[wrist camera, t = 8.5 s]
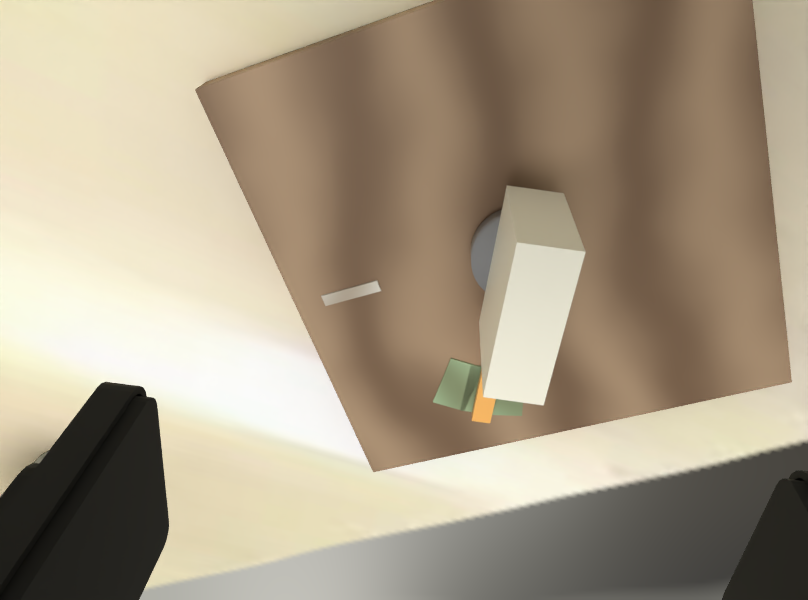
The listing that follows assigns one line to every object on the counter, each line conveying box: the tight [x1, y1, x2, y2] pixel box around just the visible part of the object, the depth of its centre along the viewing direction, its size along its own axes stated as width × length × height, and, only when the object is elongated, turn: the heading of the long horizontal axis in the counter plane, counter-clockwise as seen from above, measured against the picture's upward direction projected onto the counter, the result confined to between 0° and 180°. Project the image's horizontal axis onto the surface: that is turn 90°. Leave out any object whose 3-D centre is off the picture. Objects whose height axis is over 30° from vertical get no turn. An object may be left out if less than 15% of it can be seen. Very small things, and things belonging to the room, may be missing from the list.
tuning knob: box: [471, 185, 585, 423], centre depth 32 cm, size 14×4×7 cm, turn 173°
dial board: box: [195, 0, 792, 472], centre depth 34 cm, size 23×23×2 cm
